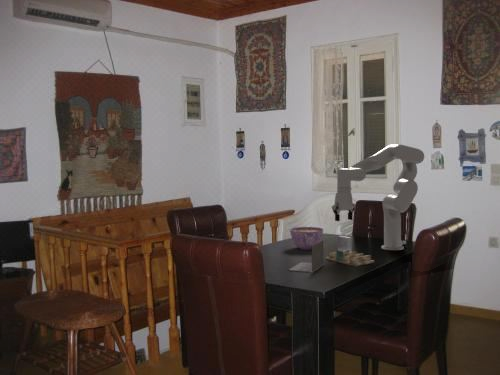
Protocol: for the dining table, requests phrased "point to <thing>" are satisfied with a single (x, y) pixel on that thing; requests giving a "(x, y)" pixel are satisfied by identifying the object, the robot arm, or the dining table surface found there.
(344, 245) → the grey rectangular block
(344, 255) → the bay rack
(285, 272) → the dining table surface
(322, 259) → the laptop
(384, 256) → the dining table surface
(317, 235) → the bowl of food
